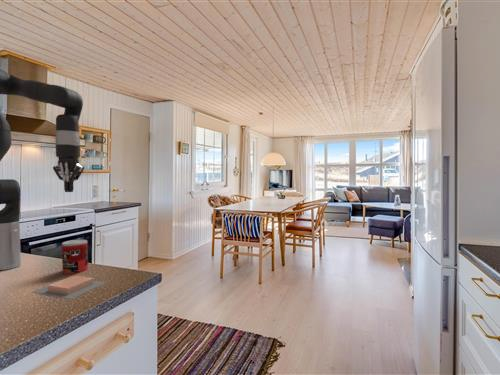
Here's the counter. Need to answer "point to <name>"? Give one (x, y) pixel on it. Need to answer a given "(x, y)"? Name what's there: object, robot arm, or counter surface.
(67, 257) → the canned food
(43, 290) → the mat
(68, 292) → the block
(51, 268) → the counter surface
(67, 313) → the counter surface
